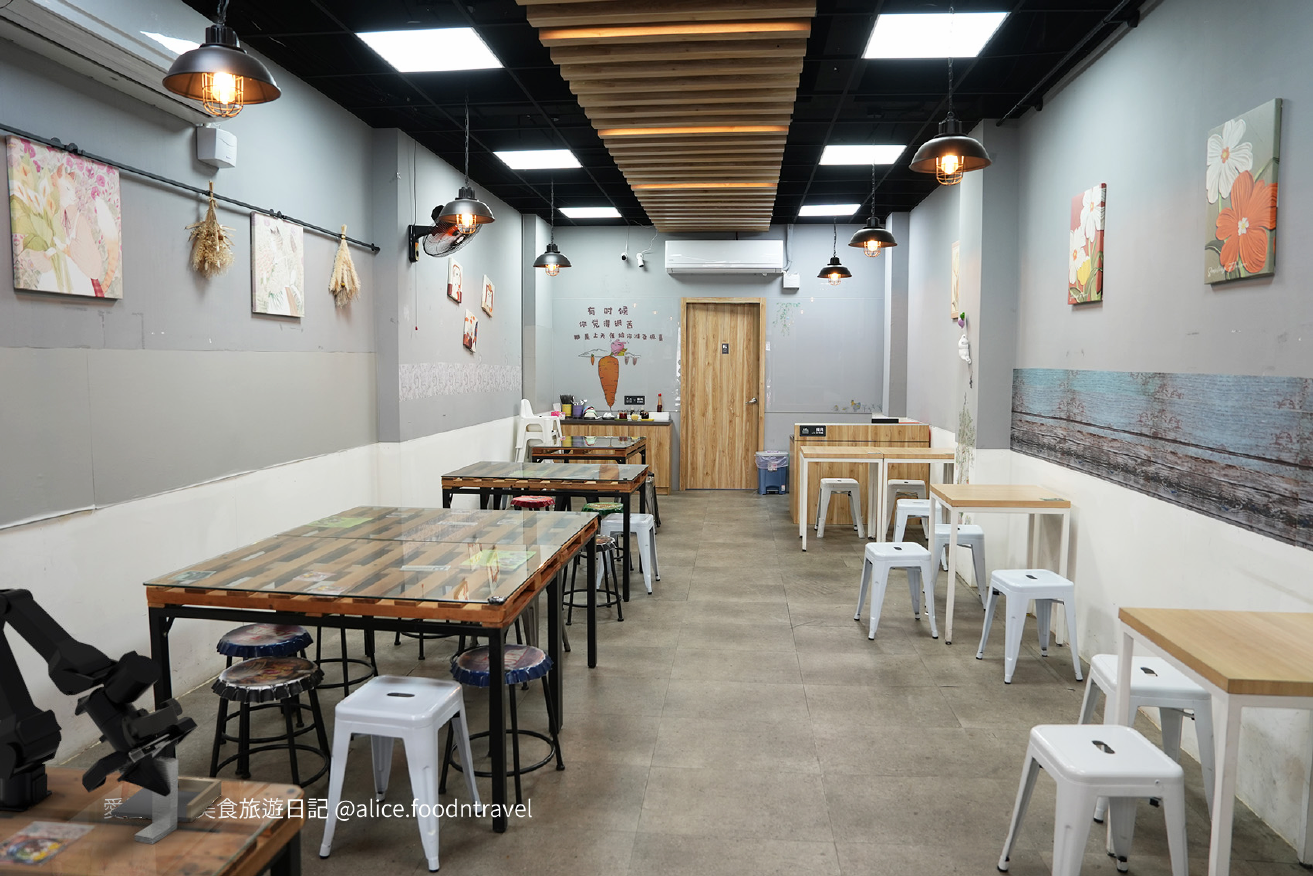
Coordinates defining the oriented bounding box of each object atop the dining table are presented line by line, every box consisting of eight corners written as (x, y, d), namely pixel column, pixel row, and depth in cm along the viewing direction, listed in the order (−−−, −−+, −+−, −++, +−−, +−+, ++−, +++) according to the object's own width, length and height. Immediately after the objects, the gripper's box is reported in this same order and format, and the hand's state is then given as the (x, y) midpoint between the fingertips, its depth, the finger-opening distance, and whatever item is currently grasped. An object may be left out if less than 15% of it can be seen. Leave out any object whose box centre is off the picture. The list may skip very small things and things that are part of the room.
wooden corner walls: (111, 816, 140) (111, 799, 140) (146, 790, 149) (146, 774, 149) (191, 822, 140) (191, 805, 140) (221, 796, 149) (221, 780, 149)
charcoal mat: (111, 816, 140) (111, 811, 140) (146, 790, 149) (146, 785, 149) (191, 822, 140) (191, 817, 140) (221, 796, 149) (221, 791, 149)
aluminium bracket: (177, 828, 138) (178, 759, 137) (152, 844, 133) (154, 772, 132) (159, 824, 139) (160, 756, 138) (134, 840, 134) (135, 769, 133)
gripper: (97, 711, 128) (157, 791, 126) (189, 671, 146) (242, 740, 144) (55, 752, 130) (113, 831, 128) (151, 708, 148) (202, 777, 147)
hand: (172, 792), depth 137 cm, fingers closed on aluminium bracket
